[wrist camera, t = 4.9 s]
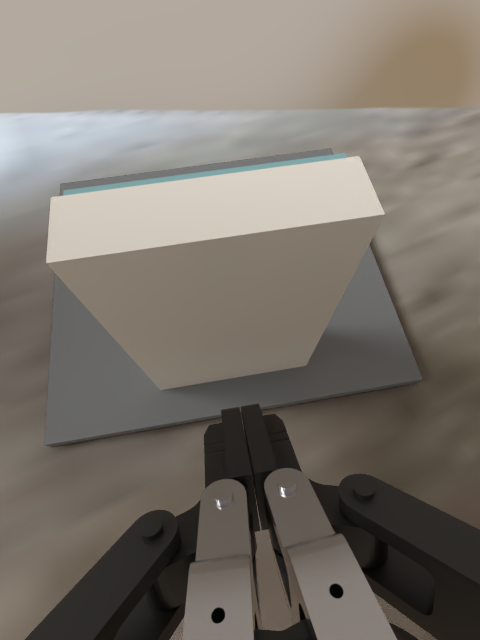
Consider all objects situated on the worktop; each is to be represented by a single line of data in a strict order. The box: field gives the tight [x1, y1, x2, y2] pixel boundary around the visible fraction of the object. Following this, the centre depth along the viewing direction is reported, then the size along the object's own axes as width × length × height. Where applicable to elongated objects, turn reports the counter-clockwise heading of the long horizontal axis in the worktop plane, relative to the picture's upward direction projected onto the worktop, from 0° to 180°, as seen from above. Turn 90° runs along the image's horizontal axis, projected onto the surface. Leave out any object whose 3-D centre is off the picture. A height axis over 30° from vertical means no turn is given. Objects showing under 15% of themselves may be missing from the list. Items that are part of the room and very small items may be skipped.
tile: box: [46, 153, 385, 390], centre depth 14 cm, size 8×2×12 cm, turn 100°
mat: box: [44, 148, 423, 447], centre depth 22 cm, size 20×18×1 cm
